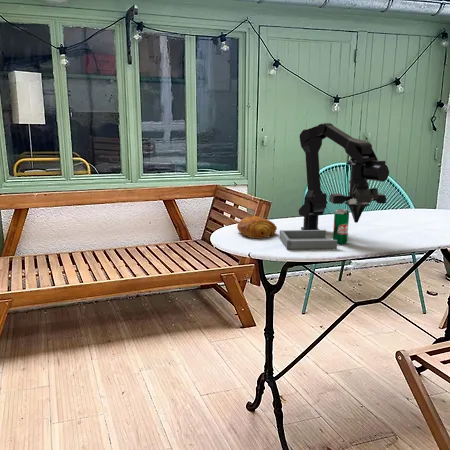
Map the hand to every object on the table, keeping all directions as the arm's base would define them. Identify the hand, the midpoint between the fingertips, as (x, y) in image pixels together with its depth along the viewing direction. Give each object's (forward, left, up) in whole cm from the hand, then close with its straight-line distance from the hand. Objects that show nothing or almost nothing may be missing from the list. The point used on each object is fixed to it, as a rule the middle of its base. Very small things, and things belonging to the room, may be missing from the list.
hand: (355, 222), depth 163 cm
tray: (0, -17, -8) cm, 19 cm away
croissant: (-15, -33, -8) cm, 38 cm away
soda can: (0, -5, -8) cm, 9 cm away
